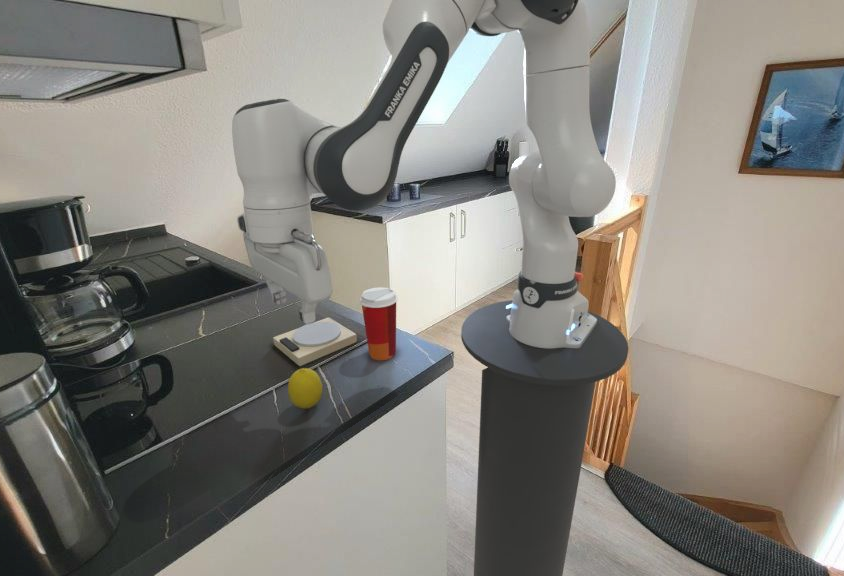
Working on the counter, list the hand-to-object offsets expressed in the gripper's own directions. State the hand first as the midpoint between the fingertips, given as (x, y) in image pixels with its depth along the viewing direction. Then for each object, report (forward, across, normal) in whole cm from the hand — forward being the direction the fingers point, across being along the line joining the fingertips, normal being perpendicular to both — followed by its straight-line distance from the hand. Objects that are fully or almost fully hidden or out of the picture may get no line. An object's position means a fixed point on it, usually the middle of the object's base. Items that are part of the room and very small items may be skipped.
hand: (293, 311), depth 63 cm
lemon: (+19, 0, 0) cm, 19 cm away
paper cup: (+19, +5, -20) cm, 28 cm away
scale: (+19, +19, -12) cm, 30 cm away
